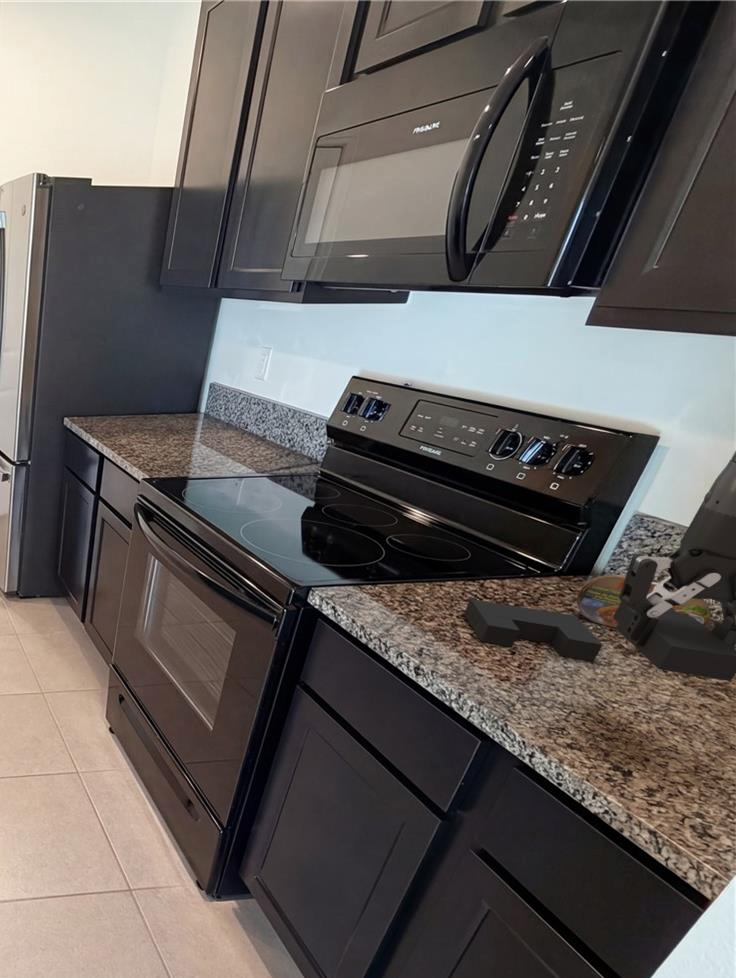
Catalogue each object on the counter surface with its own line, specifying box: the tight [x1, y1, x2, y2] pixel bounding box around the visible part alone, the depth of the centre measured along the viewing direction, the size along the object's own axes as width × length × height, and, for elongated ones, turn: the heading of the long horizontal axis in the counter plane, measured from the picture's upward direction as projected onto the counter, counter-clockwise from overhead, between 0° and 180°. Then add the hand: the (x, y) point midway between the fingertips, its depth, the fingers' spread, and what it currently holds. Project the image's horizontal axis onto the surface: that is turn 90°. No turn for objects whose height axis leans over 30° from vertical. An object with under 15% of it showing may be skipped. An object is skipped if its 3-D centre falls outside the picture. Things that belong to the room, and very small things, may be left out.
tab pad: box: [613, 601, 736, 682], centre depth 76 cm, size 6×14×3 cm, turn 157°
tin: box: [576, 574, 712, 629], centre depth 105 cm, size 15×3×8 cm, turn 45°
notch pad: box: [463, 598, 603, 662], centre depth 103 cm, size 14×10×3 cm
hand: (672, 648), depth 75 cm, fingers closed on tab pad, 6 cm apart
